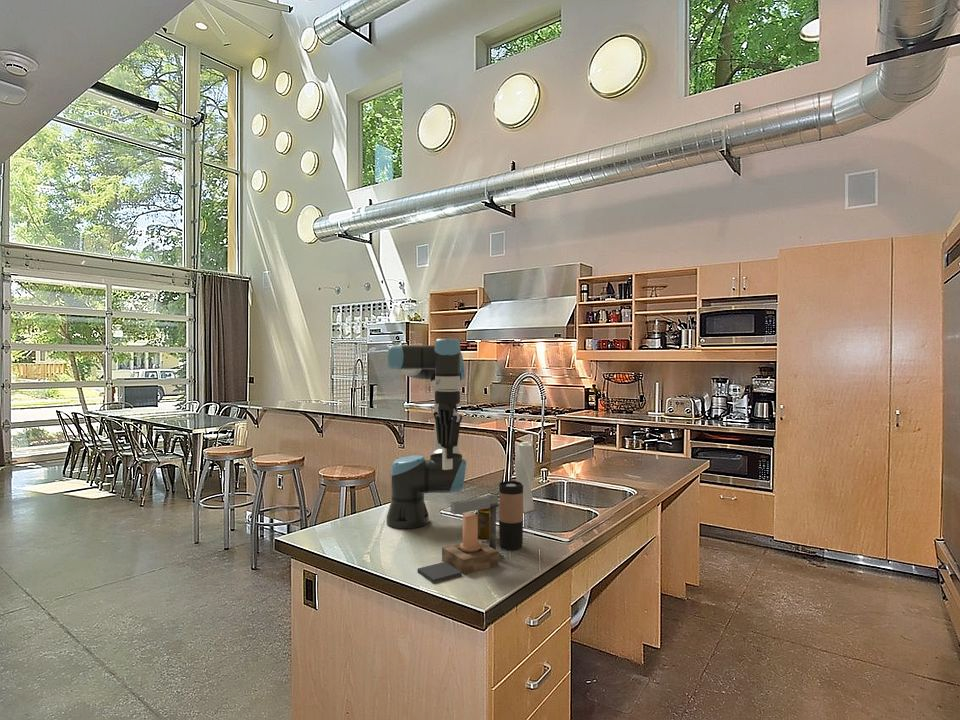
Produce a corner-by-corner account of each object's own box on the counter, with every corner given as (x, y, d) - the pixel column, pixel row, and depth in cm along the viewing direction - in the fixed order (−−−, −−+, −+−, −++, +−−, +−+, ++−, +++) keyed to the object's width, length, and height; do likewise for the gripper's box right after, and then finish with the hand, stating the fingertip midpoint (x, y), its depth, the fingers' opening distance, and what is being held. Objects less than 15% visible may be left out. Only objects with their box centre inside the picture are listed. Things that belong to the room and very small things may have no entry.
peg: (456, 561, 168) (456, 514, 168) (473, 557, 172) (473, 511, 171) (467, 568, 163) (467, 519, 163) (484, 563, 167) (484, 516, 166)
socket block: (442, 560, 169) (442, 509, 169) (487, 549, 178) (488, 500, 178) (463, 574, 159) (463, 519, 159) (511, 561, 168) (511, 510, 168)
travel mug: (494, 547, 180) (494, 484, 179) (506, 540, 186) (507, 479, 186) (515, 552, 176) (515, 488, 175) (527, 545, 182) (527, 483, 181)
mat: (417, 572, 161) (417, 568, 161) (445, 565, 166) (445, 561, 166) (433, 583, 153) (433, 579, 153) (461, 575, 158) (461, 572, 158)
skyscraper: (540, 510, 219) (540, 438, 219) (526, 515, 214) (526, 440, 213) (523, 506, 226) (524, 435, 225) (509, 510, 220) (510, 437, 219)
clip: (449, 512, 165) (449, 501, 165) (494, 503, 174) (494, 493, 174) (456, 515, 162) (456, 504, 162) (501, 506, 171) (501, 496, 171)
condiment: (501, 538, 189) (501, 502, 189) (479, 542, 184) (479, 506, 184) (488, 532, 195) (488, 497, 195) (467, 536, 190) (467, 500, 190)
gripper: (425, 389, 174) (425, 466, 175) (447, 392, 163) (447, 474, 164) (447, 388, 178) (447, 463, 179) (469, 391, 167) (469, 471, 168)
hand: (447, 468), depth 171 cm, fingers closed
